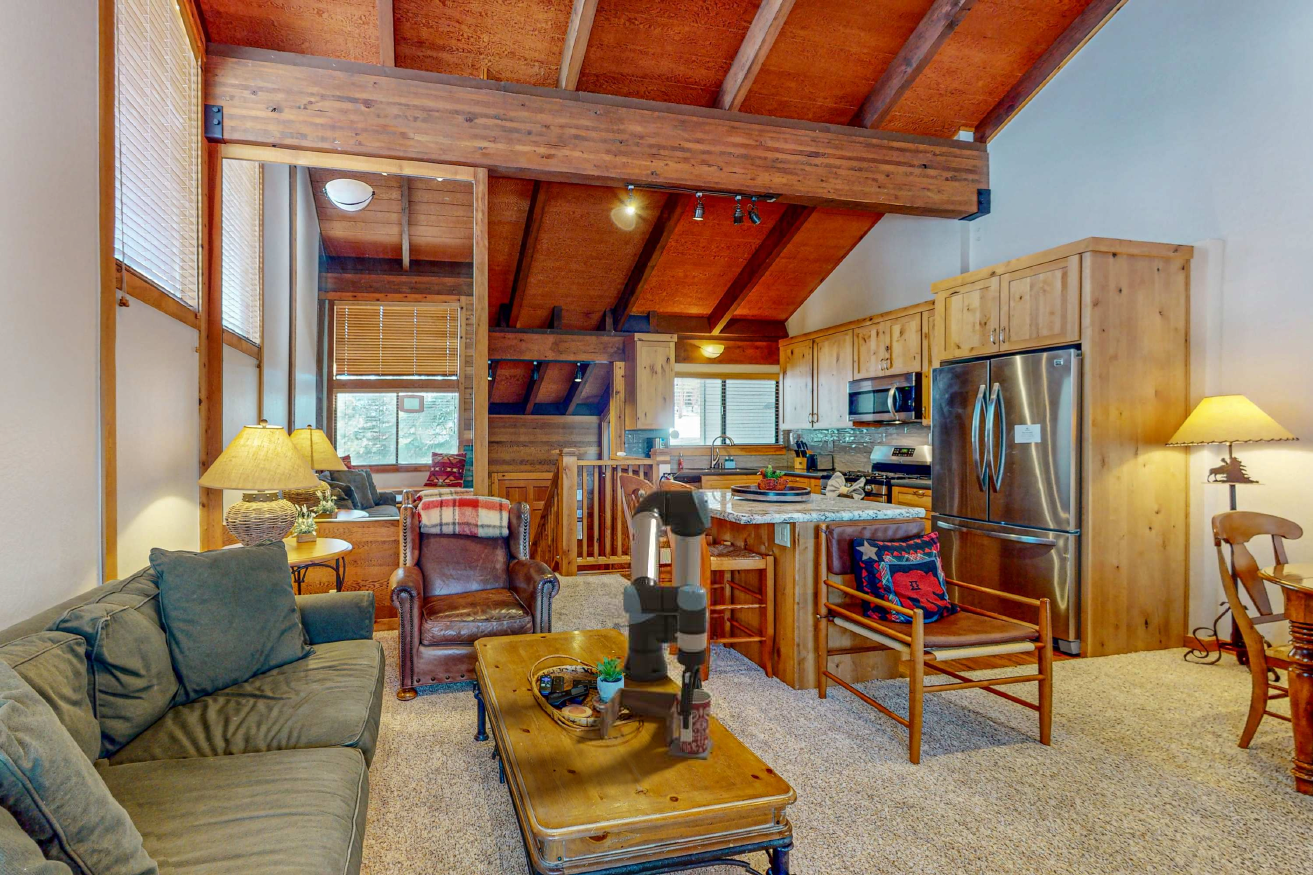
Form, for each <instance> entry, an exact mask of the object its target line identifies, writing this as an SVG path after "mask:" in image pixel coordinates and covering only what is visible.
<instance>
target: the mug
mask: <svg viewBox="0 0 1313 875" xmlns="http://www.w3.org/2000/svg"><path fill="white" fill-rule="evenodd" d="M677 693H678V694H677V697H676V710H677V715H678V712H680V701H681V691H679V692H677ZM712 699H713V696H712V694H711V693H710V692H708V691H706V690H704V691H703V690H697V689H695V690H694V693H693V702H692V710H691V714H692V742H689V741H681V716H679V715H678V723H679V727H678V736H679V747H680V749H681V750H682V751H683V752H686V753H690V754H699V753H703V752H705V751H706V750H707V747H708V739H709V732H710V730H709V729H710V717H711V715H710V714H711V702H712ZM684 711H687V710H684Z"/></svg>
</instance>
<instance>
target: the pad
mask: <svg viewBox="0 0 1313 875" xmlns="http://www.w3.org/2000/svg"><path fill="white" fill-rule="evenodd" d="M713 742H714V739H710V738H708V747H707V750H706V751H705V752H703V753H699V754H690V753H686V752H683V751H682V750H681V749H680V747H679V735H675V736H674V738H673V741H672V743H671V745H670V747H669V749H668V752H667V755H668V756H673V757H674V756H675V757H682V758H692V759H701V760H708V758H709V756H710V755H709V754H710V752H711V748H712V746H713Z"/></svg>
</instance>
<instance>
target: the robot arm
mask: <svg viewBox="0 0 1313 875" xmlns="http://www.w3.org/2000/svg"><path fill="white" fill-rule="evenodd" d="M710 514H711V513H710V506H709V498H708V494H707V492H706V491H703V490H695V489H688V490H687V489H681V490H680V489H678V490H677V489H669V490H668V489H667V490H666V489H658V490H654V491H652V492H650V493H648V494H647V495H646V496H644V497H643V498H642V499H641V500H640V501H639V502H638V504H637V505H636V506H635V509H634V510H633V513H632V517H631V528H632V529H633V531H634V536H633V537H634V538H633V551H632V552H633V554H632V571H631V585H625V586H624V587H623V593H622V596H623V597H622V598H623V600H622V603H623V606H622V608H623V611H624V612H625V613H626V614H628V620H627V624H628V637H627V639H628V640H627V641H628V642H627V644H628V645H627V646H628V648H627V654H626V657H625V661H624V663H623V666H622V673H623V672H624V673H625V676H624V678H626V679H628V680H632V681H635V682H655V681H660V680H664V679H665V678H666V677H667V676H668V671H669V670H668V663H667V661H666V657H665V655H664V652H663V651H664V650H663V648H664V646H663V645H665V644H669V645H670V644H673V645H674V644H675V645H676V644H677V649H676V650H677V652H676V656H677V657H676V661H677V663H678V664H679V665H681V666H684V670H683V671H682V674H681V691H680V692H681V701H680V712H678V715H679V716H681V741H689V742H692V714H691V710H692V702H693V693H694V690H695V689H697V690H703V691H705V690H704V688H703V681H702V668H701V666H703V665H705V664H706V662H707V648H706V647H707V646H708V645H707V643H708V642H707V639H708V638H707V634H708V633H707V632H708V627H709V626H708V625H709V610H708V606H707V604H708V600H707V599H708V597H707V596H708V595H707V590H706V588H705V587H702V586H701V565H702V564H701V563H702V562H701V559H702V536H704V535H706V533H707V528H710V527H711V526H712V523H711V515H710ZM663 527H668V528H669V527H670V528H669V529H670V530H669V531H670V533H671V534H672V535H673V536H674V570H673V571H674V574H673V575H674V579H673V580H674V581H673V582H674V583H673V584H674V585H672V586H671V585H664V586H663V585H659V566H660V565H659V563H660V562H659V561H660V560H659V556H660V554H659V553H660V531H661V530H662V528H663ZM666 675H667V676H666ZM684 710H687V711H684Z"/></svg>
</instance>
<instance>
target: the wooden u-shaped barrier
mask: <svg viewBox="0 0 1313 875" xmlns="http://www.w3.org/2000/svg"><path fill="white" fill-rule="evenodd" d="M678 693H679V692H671V691H661V690H650V689H639V688H631V687H620V688H619V689H618V688H617V689H616V691H615V692H614V693H613V695H612V696H611V697H610V699H609V700H608V702H607V703H606V704H605V705H604V707H603V708H602V709H601V710H600V727H599V728H600V734H599V735H600V739H605V738H606V736H607V735H608V733H609V732H610V731H611V729H612V727H614V724H616V722H617V720H618V719H617V717H618V715H619V713H620V710H621V707H623V708H624V709H626V710H628V711H629V713H632V714H631V715H636V716H637V715H638V716H645V717H648V716H649V717H657V718H666V737H665V738H666V739H665V740H666V741H665V742H666V744H665V745H666V746H670V747H671V745H672V743H673V740H674V738H675V736H676V734H677V732H678V731H679V723H678V715H677V710H676V697H677V694H678ZM618 718H619V717H618ZM616 719H617V720H616ZM615 721H616V722H615Z"/></svg>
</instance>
